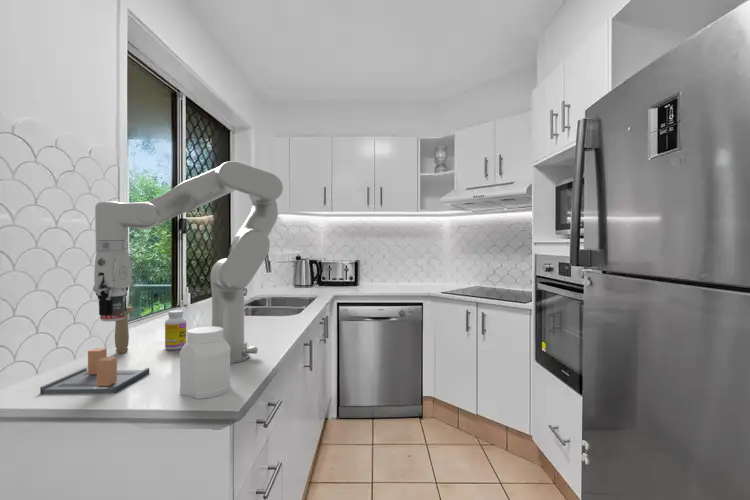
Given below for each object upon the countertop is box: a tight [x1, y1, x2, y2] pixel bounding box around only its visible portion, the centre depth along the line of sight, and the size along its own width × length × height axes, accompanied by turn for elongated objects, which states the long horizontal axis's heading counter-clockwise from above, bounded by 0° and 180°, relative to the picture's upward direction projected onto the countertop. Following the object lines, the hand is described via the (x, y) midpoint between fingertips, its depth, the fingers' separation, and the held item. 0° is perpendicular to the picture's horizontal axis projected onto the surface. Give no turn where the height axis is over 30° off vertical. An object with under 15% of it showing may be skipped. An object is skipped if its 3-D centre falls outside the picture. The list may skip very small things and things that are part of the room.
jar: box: [179, 326, 232, 400], centre depth 100 cm, size 12×10×15 cm
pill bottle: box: [99, 287, 125, 322], centre depth 111 cm, size 6×6×10 cm
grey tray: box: [39, 367, 150, 395], centre depth 106 cm, size 18×15×2 cm
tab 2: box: [97, 356, 118, 386], centre depth 101 cm, size 3×3×6 cm
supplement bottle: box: [164, 309, 187, 351], centre depth 141 cm, size 7×7×13 cm
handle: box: [114, 305, 134, 354], centre depth 135 cm, size 5×6×15 cm
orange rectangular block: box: [87, 347, 108, 374], centre depth 110 cm, size 3×3×6 cm
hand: (113, 312), depth 112 cm, fingers closed on pill bottle, 5 cm apart
